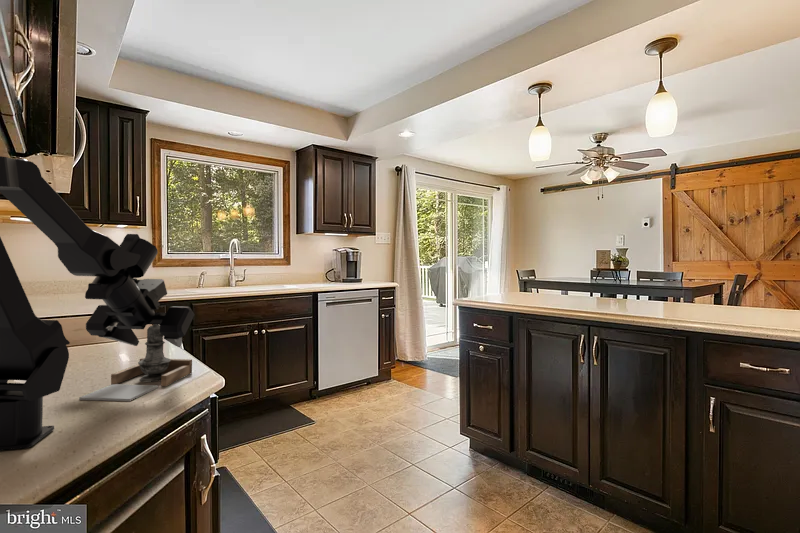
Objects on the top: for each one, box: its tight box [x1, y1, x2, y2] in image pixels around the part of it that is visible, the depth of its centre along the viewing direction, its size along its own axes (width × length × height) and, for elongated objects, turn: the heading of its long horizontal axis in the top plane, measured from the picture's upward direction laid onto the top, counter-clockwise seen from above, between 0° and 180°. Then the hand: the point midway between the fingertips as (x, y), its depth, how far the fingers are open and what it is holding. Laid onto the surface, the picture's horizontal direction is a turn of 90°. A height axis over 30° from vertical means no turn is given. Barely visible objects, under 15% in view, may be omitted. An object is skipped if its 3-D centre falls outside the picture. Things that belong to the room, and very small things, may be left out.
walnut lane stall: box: [110, 357, 193, 387], centre depth 86 cm, size 10×11×3 cm
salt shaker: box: [137, 324, 172, 383], centre depth 86 cm, size 6×6×12 cm
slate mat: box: [78, 383, 159, 402], centre depth 76 cm, size 8×9×1 cm
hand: (158, 344), depth 87 cm, fingers open, 9 cm apart
